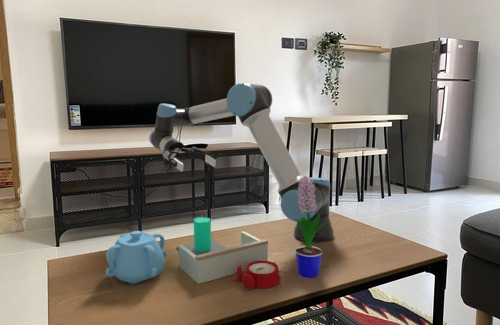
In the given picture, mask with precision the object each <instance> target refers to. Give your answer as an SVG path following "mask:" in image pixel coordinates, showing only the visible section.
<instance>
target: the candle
mask: <svg viewBox="0 0 500 325" xmlns="http://www.w3.org/2000/svg"><path fill="white" fill-rule="evenodd" d="M211 222H212V220H211V218H209V217H202V216H201V217H198V216H197V217H195V218H194V219H193V243H194V249H195V250H196V251H208V250H210V249H211V239H212V229H211V228H212V226H211Z"/></svg>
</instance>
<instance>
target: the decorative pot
mask: <svg viewBox="0 0 500 325" xmlns="http://www.w3.org/2000/svg"><path fill="white" fill-rule="evenodd" d="M129 233H130V234H128V233H123V234H121V235H120V236H119V237H118V238H117V239H116V241H115V243H114V245H111V246H110V247H109V248H108V249H107V250H106V252H105V259H106V261H107V264H108V265H109V267H107V268H106V270H105V274H106V276H107V277H110V278H111V277H115V278H116V279H118V280H119V281H121V282H126V283H128V284H129V285H136V284H139V283H140V282H143V281H147V280H149V279H152V278H155V277H157V276H158V275H160V274H161V273H162V271H163V270H164V268H165V264H166V263H165V262H166V261H165V258H166V257H167V252H166V251H164V247H165V237H164V236H163V235H162V234H160V233H154V234H149V233H146V232H142V231H141V230H133V231H131V232H129ZM157 238H159V239H160V240H159V242H158V240H157Z"/></svg>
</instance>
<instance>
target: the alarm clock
mask: <svg viewBox="0 0 500 325" xmlns="http://www.w3.org/2000/svg"><path fill="white" fill-rule="evenodd" d="M280 273H285V274H287V271H280V270H279V266H278V264H276V261H274V262H273V261H270V260H269V261H254V262H251V263H249V264H248V265H247V267H246V271H245V273H244V274H243V271H242V266H238V268H237V272H236V273H235V274H232V275H230V280H231V281H232V282H233V283H236V284H239V283H240V284H241V283H242V285H243V287H244V288H246V289H247V290H253V289H254V288H256V289H268V288H269V289H270V288H273V287H276V286H278V284H280V283H281V281H282V280H281V275H280ZM235 275H236V277H237V280H238V281H236V280H234V279H233V278H232V277H233V276H235Z"/></svg>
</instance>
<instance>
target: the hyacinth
mask: <svg viewBox="0 0 500 325" xmlns="http://www.w3.org/2000/svg"><path fill="white" fill-rule="evenodd" d="M308 177H310V178H311V176H308V175H304V177H302V179H301V178H300V179H299V181H298V182H299V183H300V182H301V183H300V184H298V185H300V186H299V188H298V190H301V191H299V193H298V192H297V196H298V197H297V198H299V199H298V201H299V202H298V204H300V205H299V208H300V210H301V212H302V213H303V212H304V211H305V212H307V220H306V219H305V218H304V217H300V220H301V222H300V221H299V220H298V219H296V218H295V219H296V221H297V222H296V224H297V223H298V224H299V226H300V228H301V230H302V233H303V236H304V239H305V245H301V246H300V245H299V246H298V247H296V248H295V249H294V250H295V257H296V266H297V274H298V275H299V276H300V277H303V278H309V279H311V278H313V279H314V278H316V277H318V276H319V275H320V268H321V263H322V254H323V250H322V249H321V248H320V247H317V246H315V245H314V246H313V245H312V243H313V242H312V239H313V237H314V235H315V233H316V232H317V230H318V229H319V228H321V227H322V226H323V225H325V224H326V223H327V222H328V221H327V222H325V223H324V224H323V225H321V226H320V227H318V228H317V229H316V227H317V224H318V222H319V219H320V215H319V214H318V215H317V216H316V218H315V219H314V221H313V222H311V223H310V215H309V211H310V210H312V212H313V210H315V209H317V203H315V200H314V198H315V196H316V195H314V191H315V188H314V186H312V185H313V184H312V182H314V181H313V180H312V179H308ZM303 179H304V180H303ZM299 196H300V197H299ZM305 198H306V199H305ZM312 199H313V200H312ZM315 199H316V198H315ZM310 200H311V201H310ZM315 204H316V206H315ZM311 205H312V206H311ZM317 210H318V209H317ZM315 229H316V230H315Z"/></svg>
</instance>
